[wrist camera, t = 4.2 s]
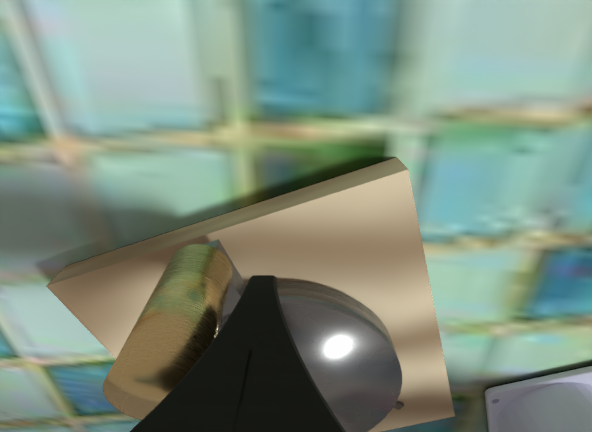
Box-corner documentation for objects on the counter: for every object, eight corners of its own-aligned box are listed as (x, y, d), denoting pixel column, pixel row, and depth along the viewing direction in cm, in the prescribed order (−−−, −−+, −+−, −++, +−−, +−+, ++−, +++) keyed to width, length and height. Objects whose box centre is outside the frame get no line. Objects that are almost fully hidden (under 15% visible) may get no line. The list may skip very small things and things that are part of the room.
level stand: (445, 393, 22) (456, 420, 21) (221, 442, 24) (216, 469, 23) (396, 157, 14) (410, 171, 12) (65, 266, 16) (42, 289, 15)
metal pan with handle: (417, 414, 20) (468, 562, 14) (244, 454, 22) (228, 599, 16) (334, 175, 12) (373, 292, 7) (75, 268, 14) (-70, 423, 8)
